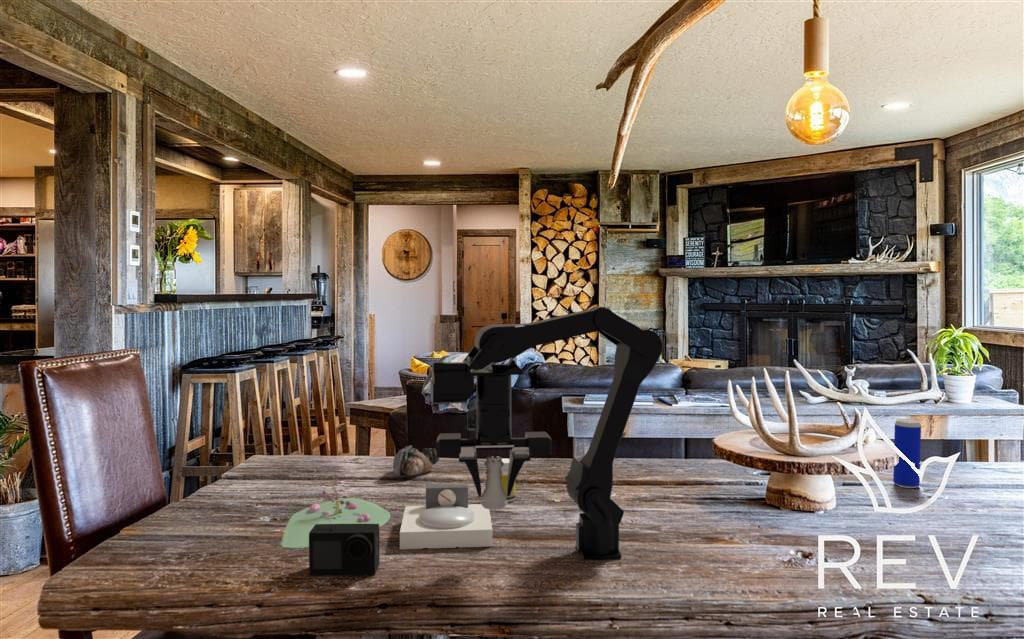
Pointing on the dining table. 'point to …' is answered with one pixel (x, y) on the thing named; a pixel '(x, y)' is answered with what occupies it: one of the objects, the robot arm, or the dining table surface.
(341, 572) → the digital camera
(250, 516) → the dining table surface
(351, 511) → the plant
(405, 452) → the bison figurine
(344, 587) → the dining table surface
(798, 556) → the dining table surface
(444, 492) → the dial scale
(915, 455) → the beverage can
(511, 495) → the supplement bottle
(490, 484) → the rook chess piece
